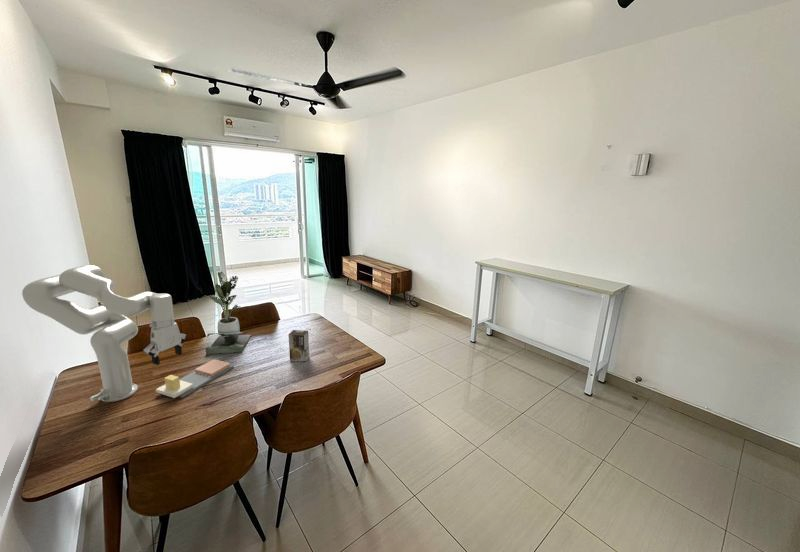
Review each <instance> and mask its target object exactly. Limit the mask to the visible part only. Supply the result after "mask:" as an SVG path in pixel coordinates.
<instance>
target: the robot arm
mask: <svg viewBox="0 0 800 552" xmlns="http://www.w3.org/2000/svg"><path fill="white" fill-rule="evenodd" d="M115 287H116V283H115V281H113V280H112V279H110V278H106V277H105V273H104V271H103V270H102V268H100V267H98V266H96V265H92V264H87V265H81V266H77V267H72V268H68V269H66V270H63V272H61V273H60V274H58V275H57V274H56V275H53V276H48V277H44V278H40V279H37V280H34V281H31V282H29V283H28V284H26V285H25V286H24V287H23V289H22V292H21V294H22V295H21V296H22V298H23V301H24V303H26V305H27V306H28V307H30V308H31V309H32V310H34V311H35V312H38V313H40V314H42V315H44V316H46V317H48V318H51V319H52V320H54V321H55V322H58V323H59V324H60V325H63V326H65V328H68V329H70V330H71V331H73V332H74V333H76V334H79V335H82V336H83V335H88V334H91V333H93V334H92V336H91V337H90V346H91V347H92V349H93V351H94V353H95V356H96V360H97V364H98V368H99V373H100V378H101V382H102V388H100V391H99V392H98V393H97V394H94V395H92V396H90V397H89V400H90V401H91V402H94V401H95V400H98V401H102V402H104V403H110V402H111V403H113V402H118V401H122V400H124V399H128V398H129V397H131V396H132V395H135V394H136V393H137V392H138V390H139V386H138V385H137V384H136V383H133V379H132V378H133V377H132V373H131V367H130V366H131V365H130V361H129V356H128V353H127V351H126V350H125V349H124V348H123V346H122V345H123V344H125V343H126V342H128V341H130V340H131V339H133V338H134V337H135V336H137V334H138V332H139V327H138V325H137V324H136V323H135V322H134V320H132V319H130V318H129V317H134V316H138V315H140V314H141V313H143V312H146V311H148V310H150V316H151V317H150V318H151V323H150V324H149V328H151V329H150V343H149V344H148V345H147V346H146V347H145V348H144V349H143V352H144V353H145V354H146V355H148V356H150V357H151V362H152V364H153V365H156V366H159V365H160V364H161V363H160V357H159V353H160V352H164V351H166V350H169V349H171V348H173V347H174V354H176V355H178V356H181V355H182V354H183V353H182V352H183V349H182V346H183V345H184V343H185V340H186V336H187V334H185V333H181V332H180V329H179V326H178V323H177V322H175V315H174V304H173V298H172V295H171V294H169V293H166V292H165V293H163V292H162V293H156V292H153V291H142V292H139V293H137V294H133V295H132V296H129V297H124V296H123V295H122V296H121V295H118V294H115V293H114V291H115V289H116V288H115ZM75 292H78V293H81V294H84V295H86V296H88V297H92V298H95V299H98V301H99V303H100V305H96V306H93V307H91V308H88V309H87V308H83V307H81V306H80V305H78V304H76V303H75V302H73V301H71V300H70V301H69V300H66V299H61V298H58V297H61V296H65V295H69V294H71V293H75Z"/></svg>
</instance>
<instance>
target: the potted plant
mask: <svg viewBox="0 0 800 552" xmlns="http://www.w3.org/2000/svg"><path fill="white" fill-rule="evenodd" d="M217 277H218V281H219V284H218V283H216V284H215V290H216V294H217V296H209V298H210V299H211V300H212V301H213V303H216V304H218V305H220V307H221V309H222V311H223V316H224V318H220V319H218V321H217V332H209V333H207V335H206V337H207V338H208V337H209V336H213V335H218V337H217V338H215V340H214V341H213V343H212V344H211V345H210V346H207V347H205V354H206V355H216V354H218V353H221V354H234V353H233V352H239V353H243V352H244V350H245V348H246V346H247V345H248V343H249V341H250V339H251V338H250V336H251V337H252V334H244V332H243V331H240V321H239V319H238V318H237V317H235V316H231V314H232V312H233V311H234V310H238V309H239V308H241V305H238V304H234V305H233V306H232V308H231V309H230V312H229V306H230V305H231V304H232V303H233V301H234V300H235V299H236V297H237V296H238V295H236V294H234V295H231V292H232V290H235V289H236V286H237V282H238V281H239V277H237V275H235V276H234V275H232V276H231V277H229V279H228V277H227V276H225V274H224V272H223V271H218V272H217ZM223 279H224V280H223ZM249 338H250V339H249ZM248 340H249V341H248ZM247 342H248V343H247ZM246 344H247V345H246ZM242 351H243V352H242Z"/></svg>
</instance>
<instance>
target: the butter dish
mask: <svg viewBox="0 0 800 552" xmlns="http://www.w3.org/2000/svg"><path fill="white" fill-rule="evenodd" d="M179 379H180V377H179V376H177V375H173V374H169V375H167V376H166V377H164V384H163V385H161V386H159V387H157V388H156V389H155V392H156V393H158V394H161V395H163V396H166V397H170V398H173V399H175V398H177V397H178V396H179V395H181V394H182V393H184V392H186V391H188V390H189V389H191V388H193V387H194V386H193V384H192V383H189V382H185V381H182V380H179Z"/></svg>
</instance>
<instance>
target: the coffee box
mask: <svg viewBox="0 0 800 552" xmlns="http://www.w3.org/2000/svg"><path fill="white" fill-rule="evenodd" d="M287 335H288V349H289V350H288V351H289V352H288V353H289V361H290V360H293V361H292V362H297V361H306V360H307V361H308V359H309V358H310V344H309V343H310V339H309V330H297V329H292V330H291V331H290V332H289V333H288V334H287ZM308 357H309V358H308ZM307 361H306V362H307Z"/></svg>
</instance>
